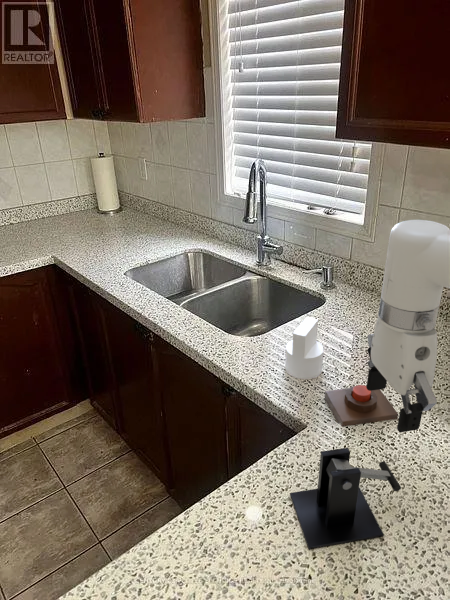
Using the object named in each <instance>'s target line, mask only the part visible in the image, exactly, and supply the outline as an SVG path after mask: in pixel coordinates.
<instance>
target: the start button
mask: <svg viewBox="0 0 450 600" xmlns="http://www.w3.org/2000/svg"><path fill="white" fill-rule="evenodd" d="M354 386H355V387H354V388H353V394H352V396H353V398H354V399H355V400H357V401H360V402H367V401H369V400H370V395H371V391H369V390H368V389H367V388H366V386H367V385H364V384H357V385H354Z"/></svg>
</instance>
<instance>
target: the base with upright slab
mask: <svg viewBox="0 0 450 600" xmlns="http://www.w3.org/2000/svg"><path fill="white" fill-rule="evenodd" d="M318 326H319V319H317V318H314V317H309V316H306V317H304V319H303V320H302V321H301V322H300V324H299V325H298V326H297V327H296V329H295V330H294V331H293V332H292V339H291V340H288V342H287V343H286V344H285V357H284V358H285V360H284V361H285V363H284V369H285V371H286V372H287V374H288V375H290V376H291V377H293V378H295V379H300V380H311V379H316V378H317V377H319V376H320V375H321V374H322V372H323V365H324V364H323V363H324V351H325V349H324V346H323V344H322V343H320V341H317V340H318Z"/></svg>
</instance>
